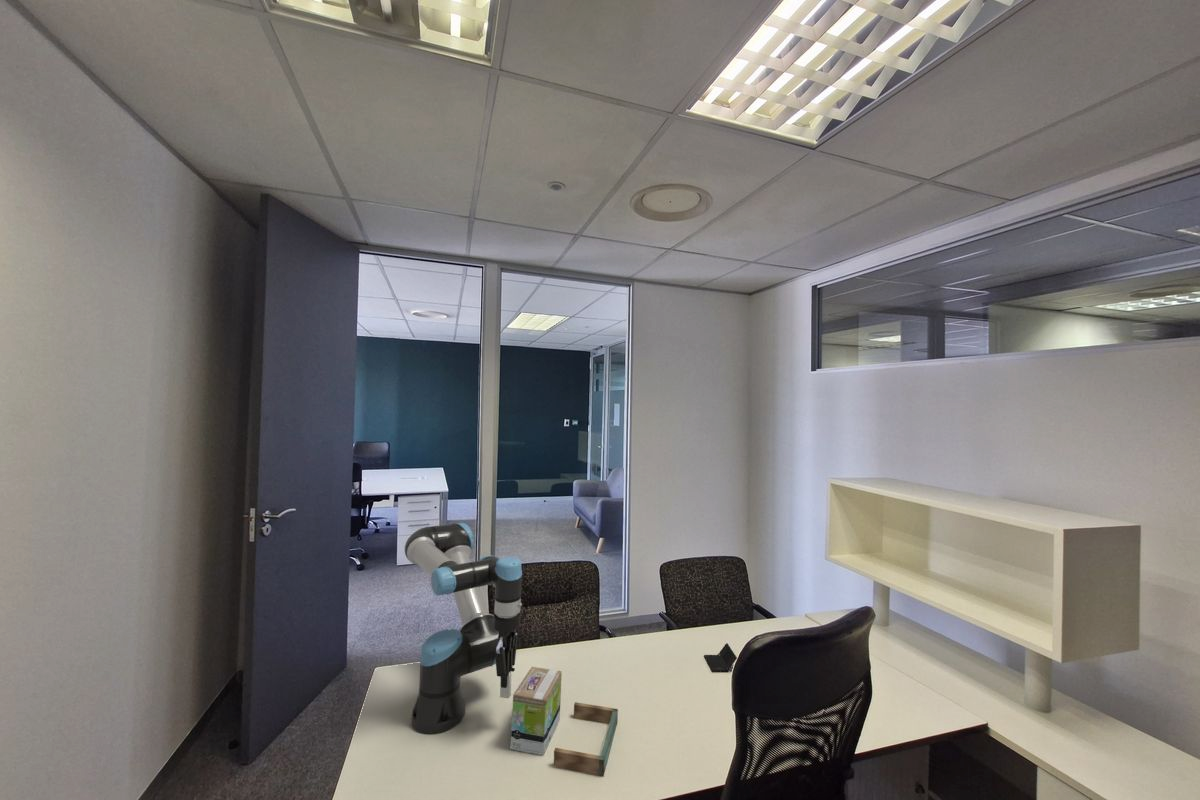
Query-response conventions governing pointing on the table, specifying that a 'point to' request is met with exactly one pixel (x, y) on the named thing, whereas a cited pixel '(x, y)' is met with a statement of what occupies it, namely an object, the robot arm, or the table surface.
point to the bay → (584, 760)
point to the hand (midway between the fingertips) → (505, 696)
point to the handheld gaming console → (721, 660)
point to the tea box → (536, 710)
